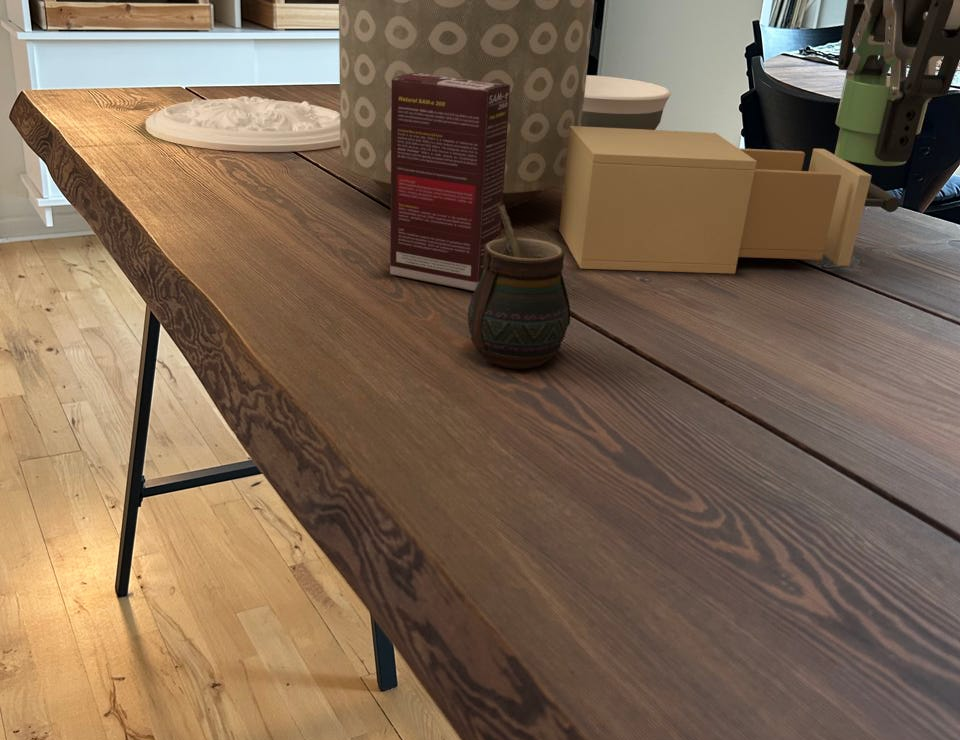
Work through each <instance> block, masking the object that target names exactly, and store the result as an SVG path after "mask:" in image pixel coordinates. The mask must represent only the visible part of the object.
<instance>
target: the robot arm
mask: <svg viewBox="0 0 960 740" xmlns="http://www.w3.org/2000/svg"><path fill="white" fill-rule="evenodd" d="M940 61H941V63H940V66H939V68H938V71H936V70H937V63H938V62H940ZM959 63H960V0H846V7H845V13H844V20H843V27H842V33H841V40H840V46H839V53H838V60H837V69H838V70H839V71H846V73H845V78H846V77H847V76H851V75H879V76H888V74H889V72H890V74H889V76H890V90H889V97H890V100H887V104H886V108H885V113H884V117H883V121H882V125H881V129H880V133H879V137H878V142H877V146H876V150H875V156H876V158H878V159H880V160H881V161H884V162H905V161H906V162H907V161H908V160H909V159H910V158H911V155H912V151H913V148H914V144H915V141H916V136H917V135H916V133H917V129H918V125H919V121H920V117H921V114H922V110H923V106H924V103H925V102H928V103H930V102H931V100H932V99H933V98H934V97H945V96H947V94H948V93H949V92H950V89H951V86H952V84H953V81H954V79H955V75H956V72H957V69H958V66H959ZM908 66H909V69H908V68H907V67H908ZM907 69H908V71H907ZM936 72H937V74H936ZM839 132H840V129H839V131H838V133H839Z"/></svg>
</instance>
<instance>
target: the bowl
mask: <svg viewBox="0 0 960 740" xmlns="http://www.w3.org/2000/svg"><path fill="white" fill-rule="evenodd" d="M671 95H672V94H671V91H670V89H668V88H667V87H664V86H662V85H659V84H655V83H653V82H652V83H651V82H647V81H644V80H643V81H642V80H636V79H631V78H624V77H614V76H604V75H592V74H591V75H590V74H587V75H586V85H585V95H584V104H583V114H582V123H581V126H582V127H603V128H623V129H644V130H657V128H658V126H659V125H660V123H661V121H662V117H663V113H664V109H665V107H666V104H667V102H668V100H669V99H670V97H671Z"/></svg>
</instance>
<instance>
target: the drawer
mask: <svg viewBox="0 0 960 740" xmlns="http://www.w3.org/2000/svg"><path fill="white" fill-rule="evenodd" d="M737 148H738V149H740V150H741V151H743V152H744V153H746V154H747V155H749V156H750V157H751V158H753V159H754V160H756V161H757V162H756V167H755V172H754V177H753V183H752V188H751V193H750V198H749V203H748V209H747V214H746V219H745V224H744V229H743V235H742V240H741V245H740V250H739V255H738V258H756V259H760V258H761V259H763V258H764V259H783V260H784V259H785V260H786V259H787V260H811V261H812V260H813V261H822V260H823V256H824V257H826V258H827V259H828V260H829V261H830V262H832V263H834V265H836V266H838V267H850V264H851V260H852V255H853V252H854V248H855V243H856V240H857V235H858V232H859V228H860V224H861V220H862V216H863V212H864V208H865V207H869V208H870V207H871V208H881V209H883V210H884V211H886V212H888V213H893V212H895V211H897V210H898V209H899V206H900V199H899V198H898V197H896V196H894V195H892V194H890V193H889V192H887V191H885V190H884V189H882V188H881V187H879V186H877V185H875V184H874V183H872V182H871V180H872V174H870V173H868V172H866V171H864V170H863V169H861V168H859V167H857V166H856V165H854V164H852V163H850V162H849V161H847V160H844V159H841V158H839V157H837V156H836V155H835V153H832V152H830V151H829V150H827V149H825V148H813V149H812V153H811V159H810V162H809V168H808V170H807V171H806V170H805V171H804V170H803V165H804V160H805V156H806V152H804V151H801V150H783V149H782V150H781V149H759V148H758V149H757V148H739V147H737Z"/></svg>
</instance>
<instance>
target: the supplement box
mask: <svg viewBox="0 0 960 740" xmlns="http://www.w3.org/2000/svg"><path fill="white" fill-rule="evenodd" d="M391 81H392V98H391V194H390V229H389V231H390V233H389V234H390V237H389V238H390V239H389V240H390V243H389V245H390V246H389V247H390V248H389V261H390V262H389V272H390V273H389V274H390V275H392V276H397V277H402V278H407V279H412V280H416V281H420V282H421V281H422V282H427V283H432V284H436V285H442V286H446V287H452V288H457V289H462V290H465V291H472V292H475V289H476V287H477V285H478V283H479V281H480V279H481V276H482V273H483V270H484V263H483V259H484V247H485V245H486V244H487V243H489V242H491V241H493V240H497V239H501V236H502V235H501V234H502V218H501V214H500V211H499V208H498V206H497V204H498V205H503V190H504V175H505V158H506V143H507V127H508V111H509V94H510V85H509V84H503V83H495V82H487V81H478V80H471V79H462V78H455V77H446V76H438V75H430V74H423V73H411V74H405V75H401V76H397V77H394V78H392V79H391Z"/></svg>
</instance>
